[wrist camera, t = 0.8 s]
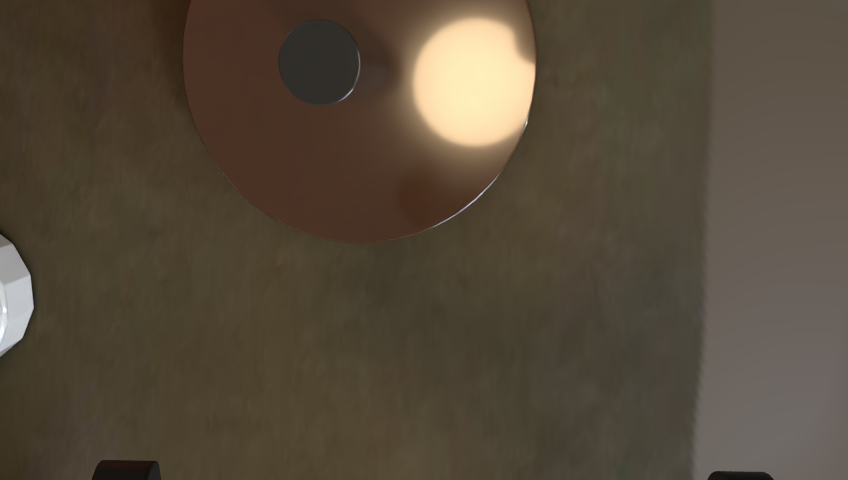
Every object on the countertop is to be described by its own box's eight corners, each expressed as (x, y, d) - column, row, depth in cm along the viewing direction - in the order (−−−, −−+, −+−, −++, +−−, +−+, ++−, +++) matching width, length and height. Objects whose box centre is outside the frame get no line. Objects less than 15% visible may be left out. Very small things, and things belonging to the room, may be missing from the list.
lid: (469, -175, 30) (459, -260, 23) (581, 174, 32) (606, 203, 25) (140, -41, 32) (31, -78, 25) (265, 280, 34) (200, 336, 27)
